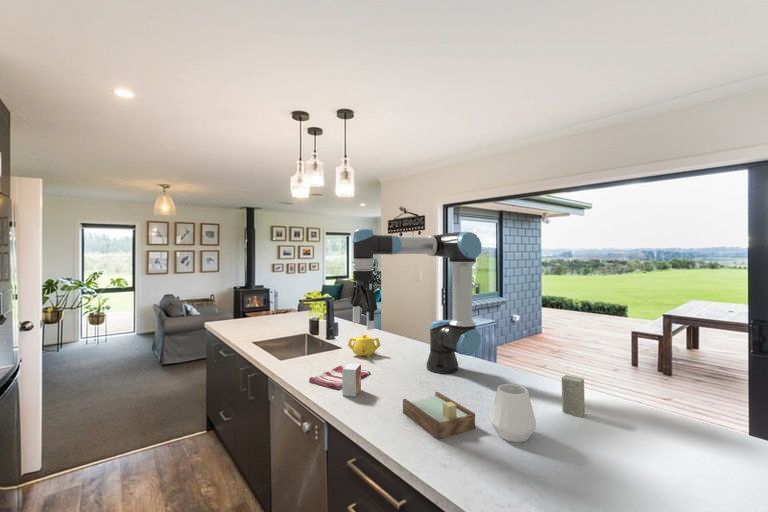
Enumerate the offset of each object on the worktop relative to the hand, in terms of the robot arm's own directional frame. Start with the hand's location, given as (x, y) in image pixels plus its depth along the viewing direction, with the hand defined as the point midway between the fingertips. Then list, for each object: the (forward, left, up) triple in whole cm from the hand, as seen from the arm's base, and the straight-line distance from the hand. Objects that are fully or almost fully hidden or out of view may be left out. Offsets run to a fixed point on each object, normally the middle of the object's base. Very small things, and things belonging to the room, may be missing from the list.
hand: (363, 326), depth 137 cm
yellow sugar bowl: (-25, -53, -28) cm, 65 cm away
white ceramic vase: (-30, +46, -28) cm, 61 cm away
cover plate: (-15, +28, -25) cm, 40 cm away
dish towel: (-1, -25, -28) cm, 38 cm away
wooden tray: (-15, +28, -28) cm, 42 cm away
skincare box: (-60, +45, -28) cm, 79 cm away
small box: (+1, -7, -28) cm, 29 cm away
